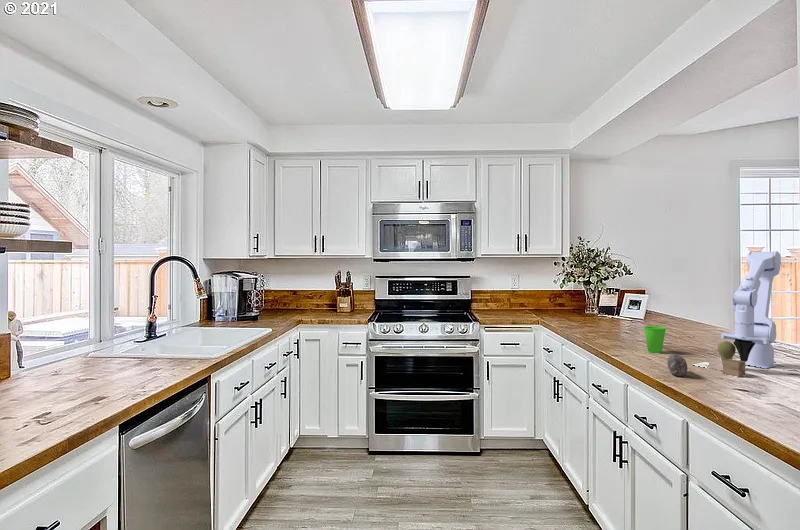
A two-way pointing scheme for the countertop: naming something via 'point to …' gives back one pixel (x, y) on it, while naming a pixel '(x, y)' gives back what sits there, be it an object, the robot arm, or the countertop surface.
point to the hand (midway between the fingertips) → (744, 361)
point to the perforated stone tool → (677, 365)
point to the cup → (654, 338)
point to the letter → (702, 364)
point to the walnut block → (734, 367)
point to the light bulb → (726, 350)
